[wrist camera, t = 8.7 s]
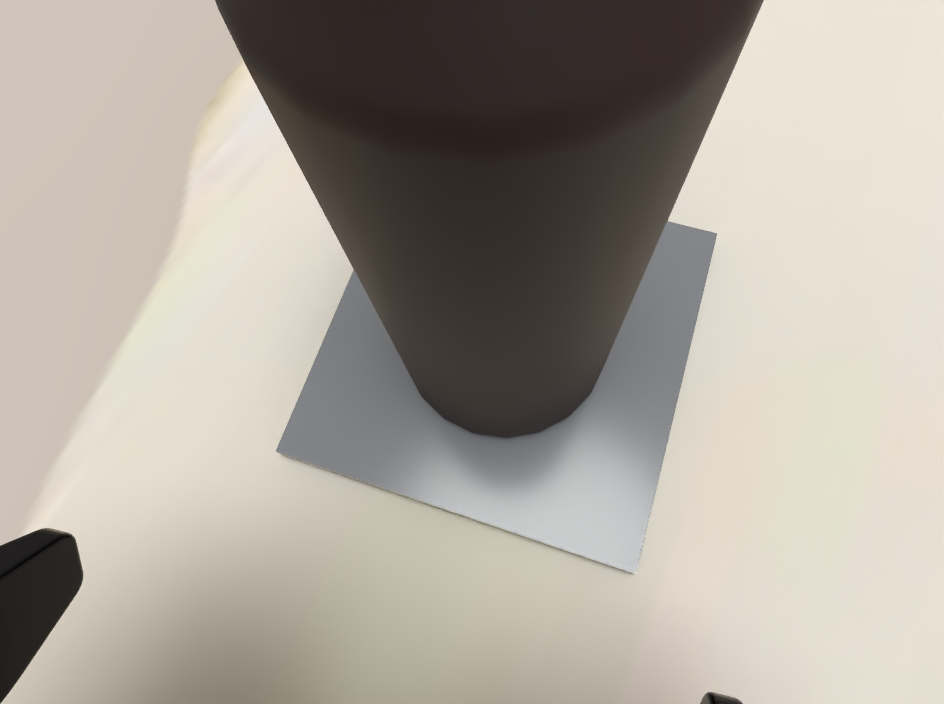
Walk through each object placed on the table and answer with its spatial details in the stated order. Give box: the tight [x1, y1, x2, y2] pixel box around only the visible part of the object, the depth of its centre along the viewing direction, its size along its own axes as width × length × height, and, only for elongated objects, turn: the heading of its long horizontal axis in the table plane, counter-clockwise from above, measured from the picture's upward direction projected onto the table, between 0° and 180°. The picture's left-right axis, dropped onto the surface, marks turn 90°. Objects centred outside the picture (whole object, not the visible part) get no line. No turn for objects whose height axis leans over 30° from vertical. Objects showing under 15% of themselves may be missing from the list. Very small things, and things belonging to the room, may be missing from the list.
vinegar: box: [215, 0, 763, 438], centre depth 12 cm, size 7×7×20 cm
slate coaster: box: [276, 221, 717, 574], centre depth 22 cm, size 12×12×1 cm
